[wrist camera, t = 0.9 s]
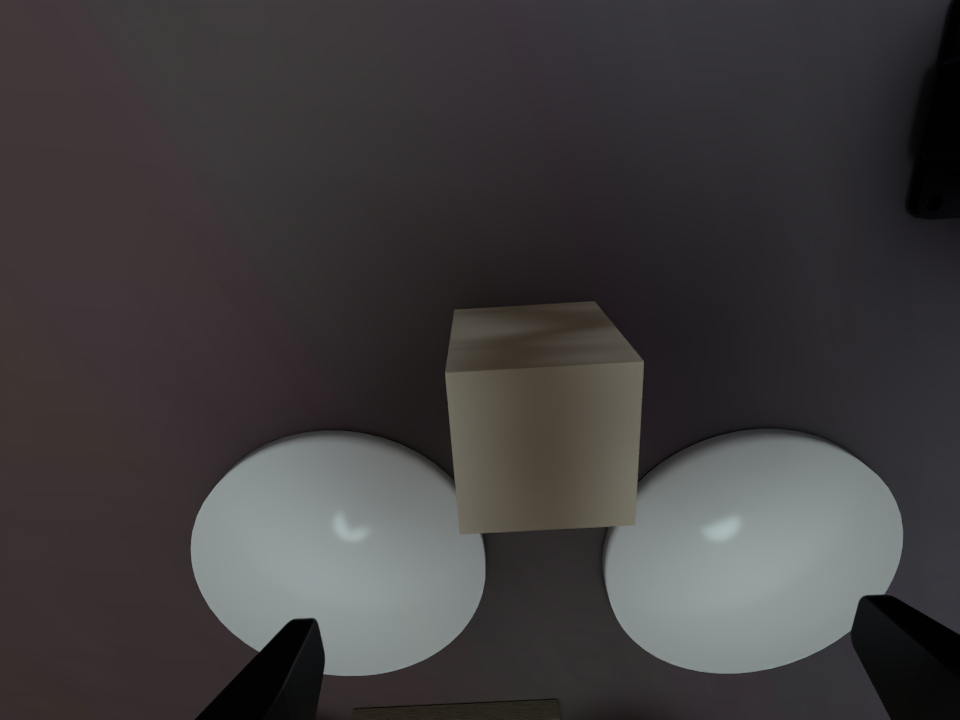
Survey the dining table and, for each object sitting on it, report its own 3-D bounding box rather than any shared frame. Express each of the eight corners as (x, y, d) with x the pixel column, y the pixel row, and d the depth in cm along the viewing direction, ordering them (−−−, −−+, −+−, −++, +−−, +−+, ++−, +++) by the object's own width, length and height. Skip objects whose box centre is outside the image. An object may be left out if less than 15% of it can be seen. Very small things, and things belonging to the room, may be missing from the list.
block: (594, 301, 19) (643, 361, 13) (592, 425, 21) (635, 525, 15) (454, 309, 19) (445, 372, 13) (464, 432, 21) (459, 534, 15)
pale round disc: (476, 421, 20) (476, 434, 20) (492, 650, 25) (492, 669, 24) (169, 438, 21) (154, 452, 20) (238, 662, 25) (228, 682, 24)
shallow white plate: (915, 420, 21) (935, 432, 20) (854, 647, 25) (869, 667, 24) (605, 437, 21) (611, 450, 20) (599, 660, 25) (603, 679, 24)
